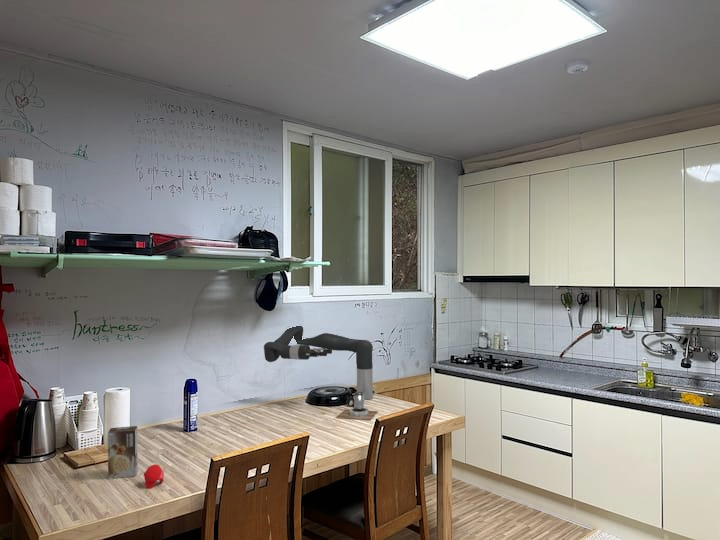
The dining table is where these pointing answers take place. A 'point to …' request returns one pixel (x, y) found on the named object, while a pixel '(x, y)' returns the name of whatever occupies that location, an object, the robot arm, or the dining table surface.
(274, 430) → the dining table surface
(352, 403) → the valve
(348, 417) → the board
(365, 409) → the ring
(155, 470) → the cap
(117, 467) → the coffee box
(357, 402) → the cylinder
